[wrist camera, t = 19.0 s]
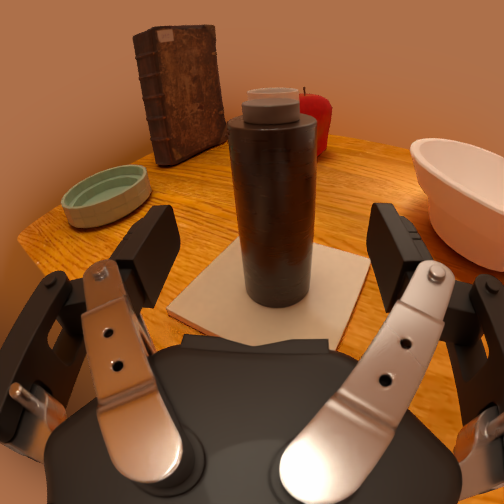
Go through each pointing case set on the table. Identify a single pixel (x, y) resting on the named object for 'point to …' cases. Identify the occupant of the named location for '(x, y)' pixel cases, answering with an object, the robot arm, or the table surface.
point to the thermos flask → (274, 197)
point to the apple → (317, 116)
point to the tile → (265, 318)
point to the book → (180, 90)
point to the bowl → (464, 197)
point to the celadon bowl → (106, 196)
